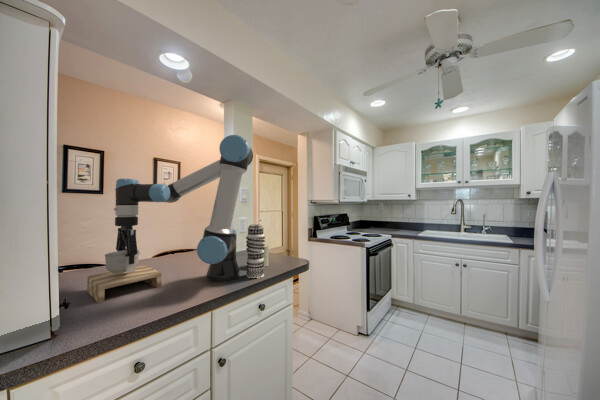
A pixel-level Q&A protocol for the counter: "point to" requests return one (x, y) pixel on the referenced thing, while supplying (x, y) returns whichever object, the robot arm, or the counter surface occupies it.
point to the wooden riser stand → (120, 280)
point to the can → (265, 255)
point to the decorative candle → (255, 251)
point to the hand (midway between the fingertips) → (125, 269)
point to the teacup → (118, 261)
